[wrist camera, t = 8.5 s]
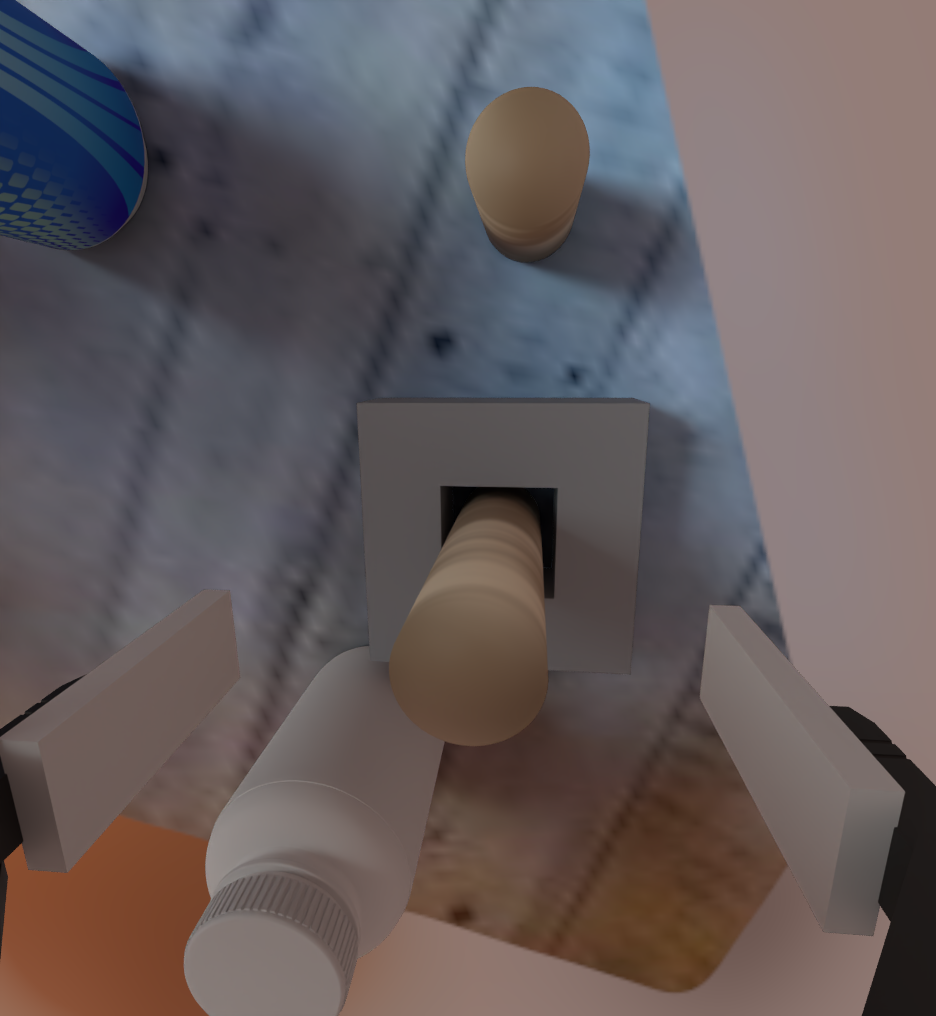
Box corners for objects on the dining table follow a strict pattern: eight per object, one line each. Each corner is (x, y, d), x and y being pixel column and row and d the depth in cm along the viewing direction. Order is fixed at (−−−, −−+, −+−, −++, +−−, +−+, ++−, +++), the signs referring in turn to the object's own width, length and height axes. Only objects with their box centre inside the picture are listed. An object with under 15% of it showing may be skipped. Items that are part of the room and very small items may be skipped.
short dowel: (483, 263, 26) (465, 227, 19) (483, 164, 25) (464, 90, 18) (572, 261, 25) (586, 223, 19) (576, 160, 24) (592, 83, 18)
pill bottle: (476, 737, 32) (429, 1045, 17) (356, 783, 34) (222, 1100, 19) (409, 618, 31) (297, 844, 16) (287, 672, 32) (87, 922, 18)
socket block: (390, 623, 31) (369, 660, 27) (381, 397, 28) (356, 402, 24) (617, 633, 29) (630, 674, 26) (632, 398, 27) (649, 403, 23)
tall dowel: (460, 479, 28) (385, 598, 14) (541, 481, 28) (551, 605, 14) (461, 556, 29) (391, 740, 15) (539, 558, 29) (545, 751, 14)
